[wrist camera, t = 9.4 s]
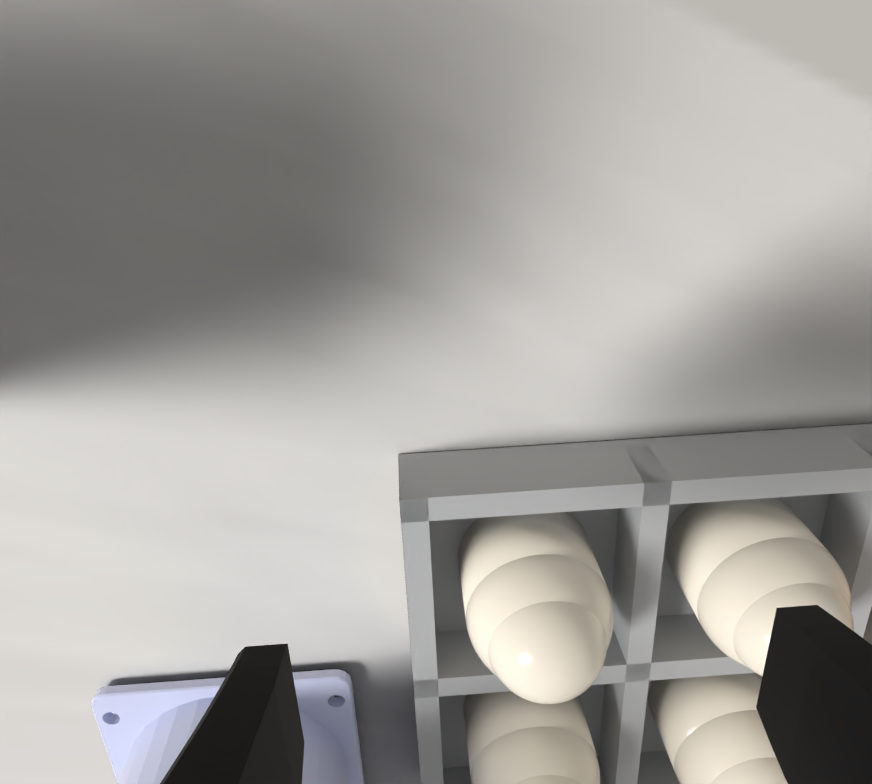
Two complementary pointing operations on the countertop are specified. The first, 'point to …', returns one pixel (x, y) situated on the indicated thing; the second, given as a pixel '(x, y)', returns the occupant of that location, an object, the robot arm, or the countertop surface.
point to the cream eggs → (592, 630)
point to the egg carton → (614, 564)
